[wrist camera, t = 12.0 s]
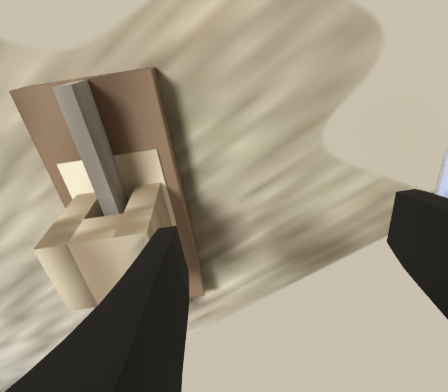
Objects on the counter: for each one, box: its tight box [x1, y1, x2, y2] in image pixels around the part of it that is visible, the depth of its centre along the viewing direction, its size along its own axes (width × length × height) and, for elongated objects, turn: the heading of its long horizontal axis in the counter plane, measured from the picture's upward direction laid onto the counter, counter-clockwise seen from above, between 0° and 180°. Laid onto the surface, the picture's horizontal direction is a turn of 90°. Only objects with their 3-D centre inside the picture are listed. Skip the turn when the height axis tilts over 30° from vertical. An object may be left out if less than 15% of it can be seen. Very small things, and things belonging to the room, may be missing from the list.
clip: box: [33, 182, 172, 311], centre depth 15 cm, size 5×4×5 cm
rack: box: [9, 67, 204, 298], centre depth 18 cm, size 7×16×4 cm, turn 7°
